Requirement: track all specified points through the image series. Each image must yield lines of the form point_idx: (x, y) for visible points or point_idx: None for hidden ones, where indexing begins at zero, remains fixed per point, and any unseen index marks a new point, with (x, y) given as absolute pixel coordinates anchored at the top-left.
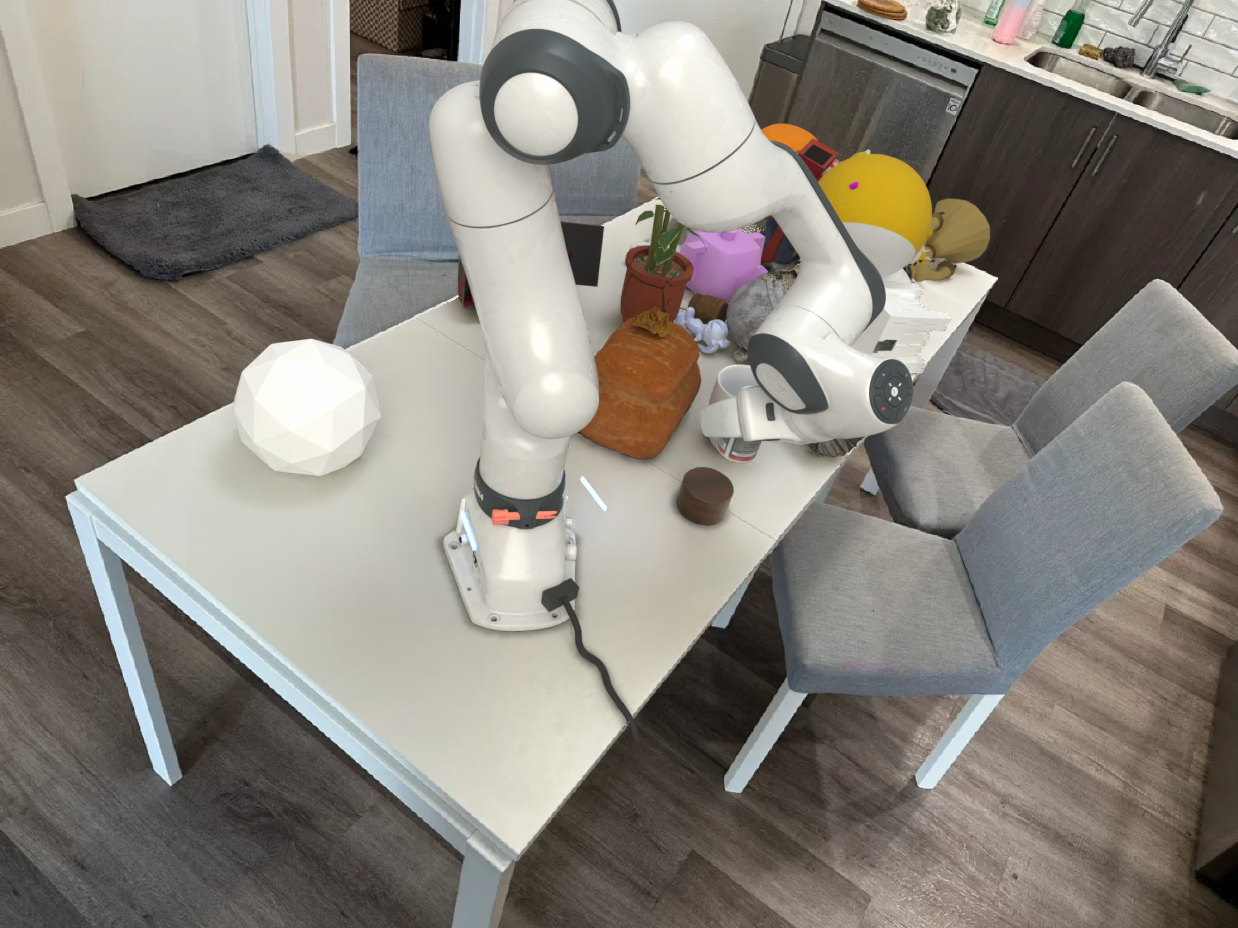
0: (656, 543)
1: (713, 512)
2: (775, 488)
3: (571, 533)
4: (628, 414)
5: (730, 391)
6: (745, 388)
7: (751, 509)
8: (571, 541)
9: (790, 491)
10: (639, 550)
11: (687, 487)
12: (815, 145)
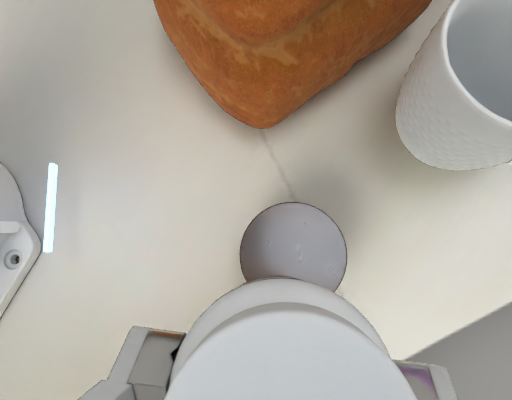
0: (164, 305)
1: None
2: (464, 261)
3: (27, 246)
4: (199, 45)
5: (492, 30)
6: (261, 341)
7: (382, 294)
8: (21, 260)
9: (491, 279)
10: (128, 309)
11: (243, 247)
12: None
